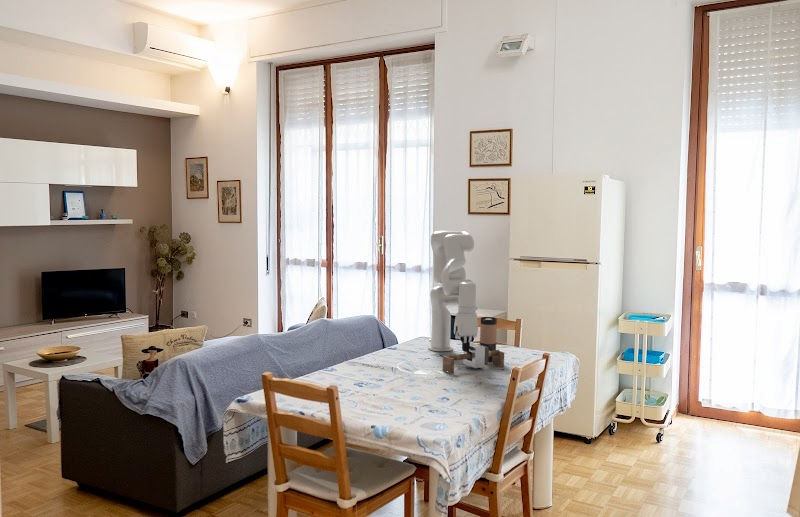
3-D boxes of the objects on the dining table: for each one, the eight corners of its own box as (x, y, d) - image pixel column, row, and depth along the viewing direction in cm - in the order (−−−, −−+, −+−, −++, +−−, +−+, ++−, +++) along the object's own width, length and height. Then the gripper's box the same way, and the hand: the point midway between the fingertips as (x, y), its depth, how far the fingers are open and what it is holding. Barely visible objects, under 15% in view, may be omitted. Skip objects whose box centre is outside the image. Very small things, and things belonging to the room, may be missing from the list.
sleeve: (475, 368, 294) (475, 347, 293) (463, 363, 302) (463, 343, 301) (484, 367, 297) (484, 346, 296) (472, 362, 304) (473, 342, 304)
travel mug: (495, 358, 319) (496, 317, 317) (496, 362, 311) (497, 320, 309) (479, 358, 320) (480, 316, 318) (479, 362, 312) (480, 319, 310)
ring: (483, 365, 297) (484, 347, 296) (473, 361, 304) (473, 344, 303) (488, 365, 298) (488, 347, 297) (477, 361, 305) (478, 343, 304)
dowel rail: (450, 373, 290) (450, 357, 289) (442, 370, 295) (442, 354, 294) (503, 366, 304) (504, 350, 303) (495, 363, 309) (496, 348, 308)
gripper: (475, 307, 302) (474, 348, 303) (447, 309, 295) (446, 351, 296) (485, 310, 295) (484, 351, 297) (457, 312, 288) (456, 354, 290)
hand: (465, 351), depth 297 cm, fingers closed
